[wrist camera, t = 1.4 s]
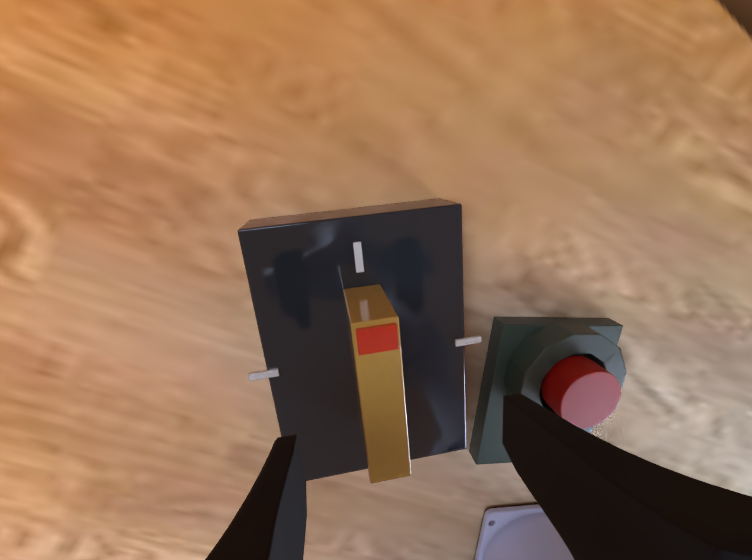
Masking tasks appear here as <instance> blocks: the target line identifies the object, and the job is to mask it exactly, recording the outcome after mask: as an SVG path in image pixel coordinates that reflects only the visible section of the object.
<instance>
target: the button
mask: <svg viewBox="0 0 752 560" xmlns="http://www.w3.org/2000/svg"><path fill="white" fill-rule="evenodd" d="M541 391H542V396H543V399H544V401H545V402H546V403H547V404H548V405H549V406H550V407H551V409H552V410H553V411H554V412H555V413H556V414H557V415H558V416H560V417H562V418H563V419H565V420H567V421H569V422H570V423H572V424H574V425H576V426H577V427H579V428H581V429H583V428H589V427H593V426H595V425H598V424H599V423H601V422H603V421H604V420H606V419H607V418H608V417H609V416H610V415H611V414H612V413H613V411H614V410H615V408H616V407H617V405H618V403H619V400H620V396H621V387H620V384H619V381H618V380H617V378H616V377H615V376H614V375H613V374H611V373H610V372H608V371H607V370H605V369H604V368H603V367H601V366H600V365H598V364H597V363H595V362H594V361H593V360H591V359H590V358H588V357H585V356H578V355H576V356H569V357H566V358H564V359H562V360H560V361H558V362H557V363H556V364H554V365H553V367H552V368H551V369H550V370H549V372H548V373H547V374H546V375H545V377H544V379H543V382H542V389H541Z"/></svg>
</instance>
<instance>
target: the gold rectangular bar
mask: <svg viewBox="0 0 752 560" xmlns="http://www.w3.org/2000/svg"><path fill="white" fill-rule="evenodd" d="M343 296H344V304H345V312H346V320H347V327H348V335H349V343H350V351H351V358H352V366H353V374H354V382H355V389H356V397H357V405H358V412H359V420H360V426H361V432H362V438H363V444H364V449H365V455H366V461H367V466H368V472H369V478H370V482H371V483H377V482H382V481H387V480H391V479H396V478H401V477H406V476H410V475H411V463H410V451H409V438H408V426H407V413H406V401H405V388H404V376H403V363H402V351H401V338H400V326H399V317H398V315H397V313H396V312H395V310H394V308H393V306H392V304H391V303H390V301H389V299H388V297H387V295H386V293H385V292H384V290H383V288H382V286H381V284H376V285H369V286H362V287H355V288H348V289H343Z"/></svg>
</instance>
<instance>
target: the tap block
mask: <svg viewBox="0 0 752 560" xmlns="http://www.w3.org/2000/svg"><path fill="white" fill-rule="evenodd" d="M238 236H239V241H240V245H241V250H242V255H243V259H244V264H245V269H246V273H247V278H248V283H249V287H250V292H251V297H252V302H253V306H254V311H255V316H256V320H257V325H258V330H259V334H260V339H261V344H262V348H263V353H264V358H265V362H266V367H267V370H264V371H258V372H251V373H249V374H248V376H249V381H252V380H258V379H264V378H269V381H270V386H271V390H272V395H273V400H274V404H275V409H276V414H277V418H278V423H279V428H280V432H281V437H284V436H290V435H295V434H297V439H298V444H299V449H300V454H301V459H302V464H303V469H304V475H305V480H306V481H309V480H314V479H319V478H324V477H328V476H333V475H338V474H343V473H348V472H353V471H358V470H363V469H368V466H367V461H366V455H365V449H364V444H363V438H362V432H361V426H360V420H359V412H358V405H357V397H356V389H355V382H354V374H353V366H352V358H351V351H350V343H349V335H348V327H347V320H346V312H345V304H344V296H343V289H348V288H355V287H362V286H369V285H376V284H381V286H382V288H383V290H384V292H385V293H386V295H387V297H388V299H389V301H390V303H391V304H392V306H393V308H394V310H395V312H396V313H397V315H398V317H399V326H400V338H401V351H402V363H403V376H404V388H405V401H406V413H407V426H408V438H409V451H410V460H412V459H417V458H422V457H427V456H432V455H437V454H442V453H447V452H452V451H457V450H462V449H466V408H465V357H464V345H469V344H475V343H481V342H482V336H481V335H478V336H472V337H466V338H464V305H463V253H462V205H461V204H460V203H456V202H452V201H448V200H444V199H440V198H439V199H430V200H421V201H412V202H403V203H395V204H386V205H377V206H368V207H359V208H351V209H342V210H333V211H324V212H315V213H306V214H298V215H289V216H280V217H271V218H262V219H254V220H249V221H248V222H247V223H246V224H244V225H243V226H242V227H241V228H240V229H238Z"/></svg>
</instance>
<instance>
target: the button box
mask: <svg viewBox="0 0 752 560" xmlns="http://www.w3.org/2000/svg"><path fill="white" fill-rule="evenodd" d="M622 327H623V326H622V325H621V324H619V323H617V322H615V321H613V320H611V319H609V318H549V317H494V320H493V325H492V331H491V336H490V342H489V347H488V352H487V358H486V363H485V368H484V374H483V379H482V385H481V390H480V395H479V401H478V406H477V412H476V417H475V422H474V428H473V433H472V438H471V444H470V449H469V452H470V454H471V456H472V458H473V460H474V461H475V463H476V464H493V463H509V462H511V460H510V458H509V456H508V454H507V452H506V450H505V448H504V446H503V444H502V432H503V396H506V395H512V394H517V393H520V394H522V395H524V396H526V397H528V398H529V399H531V400H533V401H535V402H536V403H538V404H540V405H541V406H543V407H545V408H546V409H548V410H550V411H551V412H553V413H555V412H554V411H553V410H552V409H551V407H550V406H549V405H548V404H547V403H546V402H545V401H544V399H543V396H542V391H541V389H542V382H543V379H544V377H545V375H546V374H547V373H548V372H549V370H550V369H551V368H552V367H553V365H554V364H556V363H557V362H558V361H560V360H562V359H564V358H566V357H569V356H576V355H578V356H585V357H588V358H590V359H591V360H593V361H594V362H595V363H597V364H598V365H600V366H601V367H603V368H604V369H605V370H607V371H608V372H610V373H611V374H613V375H614V376H615V377H616V378H617V380H618V381H619V384H620V387H621V388H622V385H623V382H624V379H625V375H626V368H625V364H624V361H623V357H622V353H621V349H620V348H619V347H618V346H617V344H618V341H619V337H620V334H621V331H622ZM555 414H556V413H555ZM592 428H593V427H589V428H583V430H585V431H587V432H588V433H590V434H591V432H592Z"/></svg>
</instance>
